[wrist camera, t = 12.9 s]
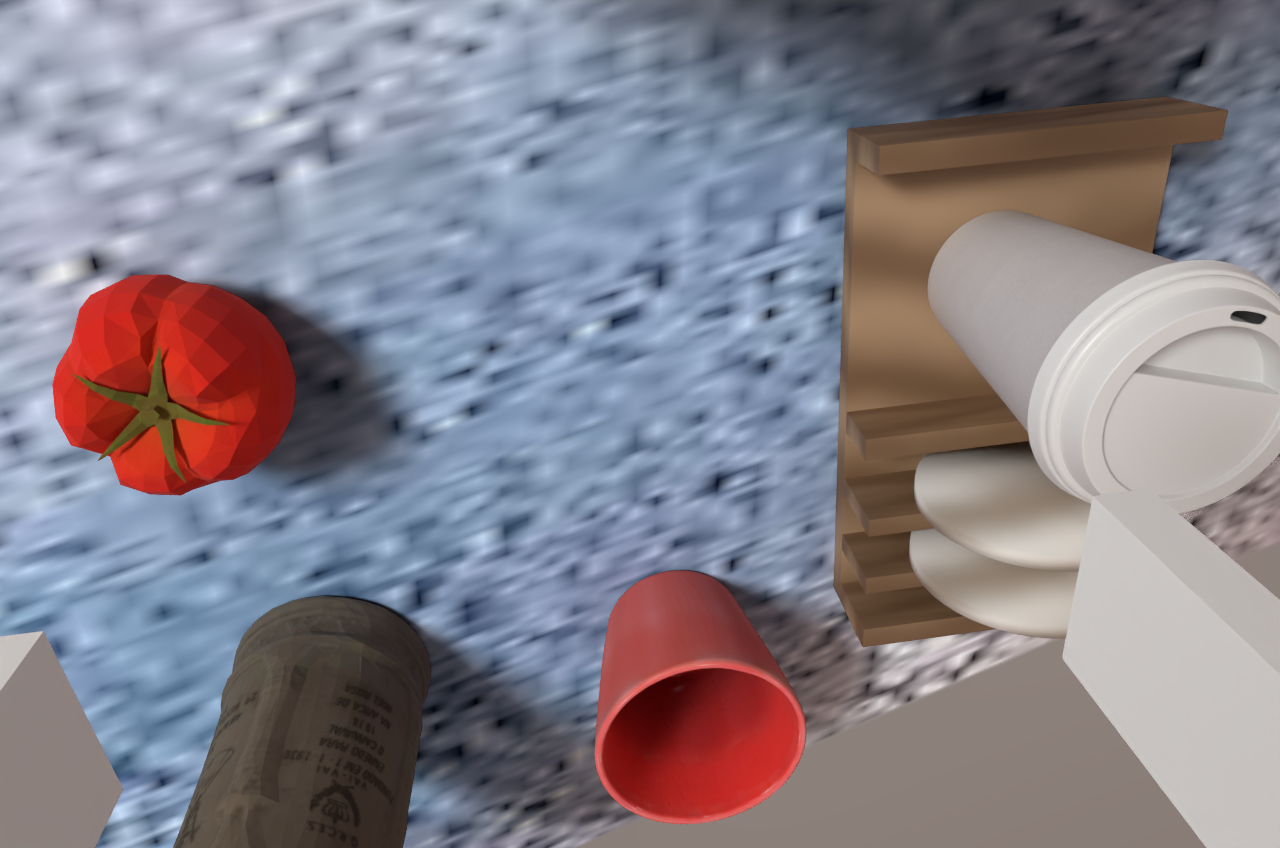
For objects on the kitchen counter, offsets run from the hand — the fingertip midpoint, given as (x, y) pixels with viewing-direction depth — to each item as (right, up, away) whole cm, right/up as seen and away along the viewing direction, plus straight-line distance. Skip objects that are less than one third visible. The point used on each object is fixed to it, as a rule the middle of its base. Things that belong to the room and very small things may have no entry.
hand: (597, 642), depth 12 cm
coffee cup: (+18, +10, +32) cm, 38 cm away
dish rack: (+18, +6, +35) cm, 40 cm away
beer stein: (-18, -13, +41) cm, 46 cm away
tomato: (-20, +6, +30) cm, 37 cm away
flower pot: (+3, -9, +41) cm, 42 cm away
